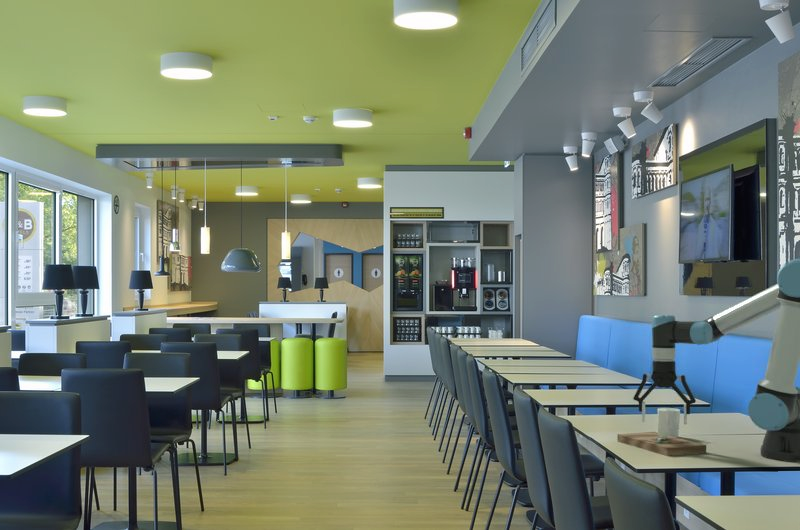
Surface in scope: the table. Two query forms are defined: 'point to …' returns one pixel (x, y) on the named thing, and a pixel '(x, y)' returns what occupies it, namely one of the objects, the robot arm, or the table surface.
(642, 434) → the wooden cutting board
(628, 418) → the table surface
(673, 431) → the white cup
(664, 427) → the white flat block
